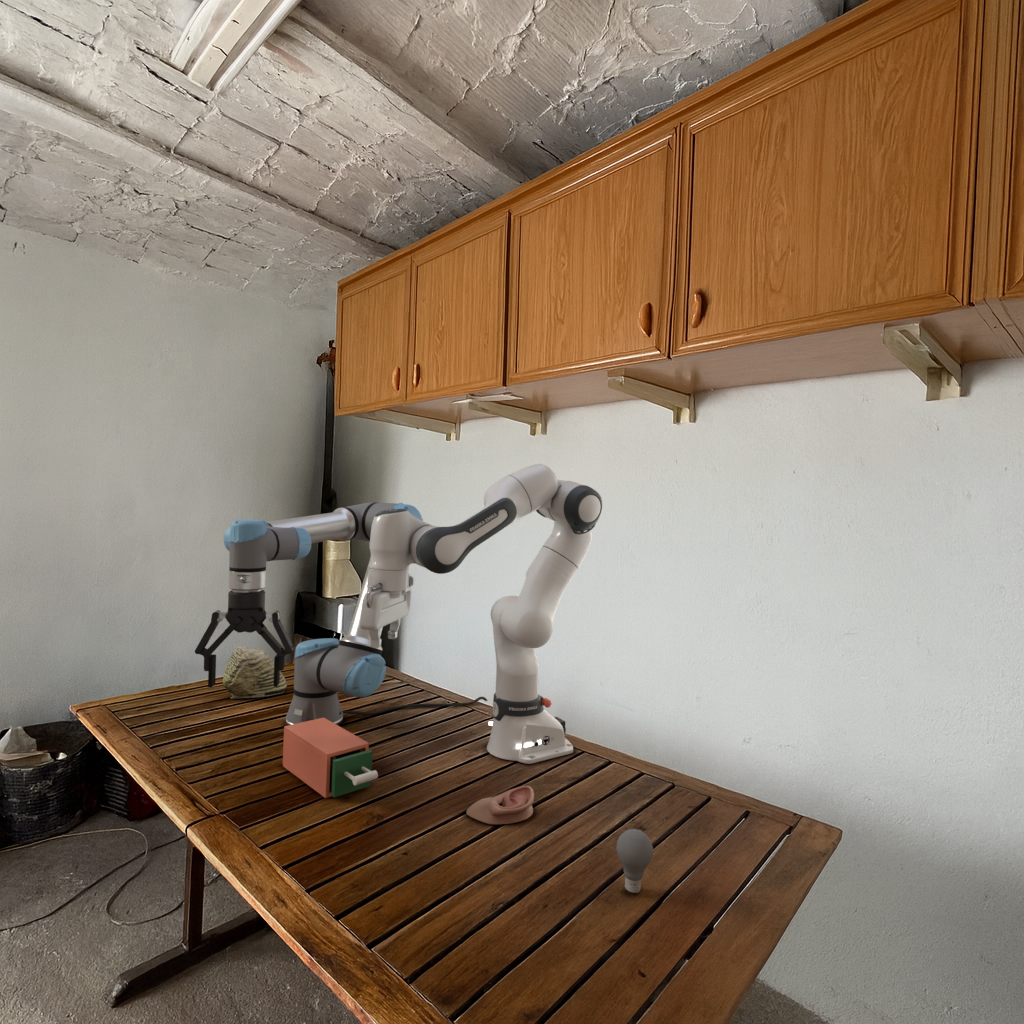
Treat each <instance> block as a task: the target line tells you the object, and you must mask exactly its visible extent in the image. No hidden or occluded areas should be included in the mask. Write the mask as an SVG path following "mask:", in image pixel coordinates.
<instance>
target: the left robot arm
mask: <svg viewBox="0 0 1024 1024" xmlns="http://www.w3.org/2000/svg"><path fill="white" fill-rule="evenodd" d="M390 509H406V510H408V511H409V513H411V514H412V515H413V516H415V517H416V518H418V519H420V520H422V521H423V522H424V519H423V517H422V514H421V512H420V510H418V508H417V507H416V506H414V505H411V504H407V503H403V502H398V503H394V502H375V501H373V502H371V501H370V502H364V503H359V504H354V505H349V506H344V507H338V508H336V509H334V510H333V511H332V512H327V513H319V514H313V515H306V516H299V517H291V518H285V519H277V520H271V521H266V520H263V519H236V520H233V521H232V522H231V524H230V526H229V527H228V528H227V529H226V531H225V532H224V535H223V544H224V547H225V549H226V550H227V551H228V553H229V555H228V557H229V562H228V563H229V567H228V568H229V569H228V588H229V589H230V590H229V591H228V593H227V594H228V595H227V599H228V600H227V602H228V603H227V611H226V612H225V611H221V610H219V609H218V610H215V611H214V612H212V613H211V618H210V623H209V625H208V626H207V628H206V629H205V632H204V633H203V635H202V637H201V638H200V641H199V642H198V643H197V645H196V648H195V649H194V654H195V655H200V656H203V671H204V672H207V673H208V675H207V676H208V677H207V688H213V687H214V686H215V685H216V678H217V677H216V674H217V673H216V672H217V654H214V652H215V651H216V650H217V649H218V648H219V647H220V646H221V645H222V643H224V641H225V640H226V639H227V638H228V637H229V636H230V635H231V634H232V633H233V632H234V631H235V632H237V633H240V634H241V633H244V632H245V633H248V634H249V633H250V634H251V633H254V632H256V633H257V634H258V635H259V636H261V638H262V639H263V640H264V641H265V642H266V644H268V645H269V647H270V648H271V649H272V651H274V653H275V654H276V655H275V656H274V658H273V659H274V660H273V661H274V687H277V686H278V684H279V683H280V672H281V671H282V672H283V671H284V669H285V667H286V656H287V655H291V654H292V653H293V652H294V650H295V652H294V653H295V654H294V657H293V659H294V660H293V662H294V663H293V665H294V667H293V695H292V696H293V697H292V699H291V702H290V704H289V708H288V711H287V713H286V715H285V726H288V725H293V724H297V723H301V722H306V721H310V720H315V719H319V718H326V719H327V720H329V721H331V722H333V723H334V724H336V725H338V726H340V725H342V723H343V722H344V715H345V714H346V715H347V714H348V715H362V716H373V715H378V714H382V713H386V712H389V711H392V710H393V711H394V710H398V709H399V710H400V709H406V708H418V707H461V706H462V707H464V706H471V705H474V704H476V703H477V702H479V701H480V700H483V701H484V702H488V700H489V699H487V698H486V697H485V696H478V697H477V698H475V699H474V700H472V701H467V702H457V703H456V702H454V703H449V702H447V703H411V704H410V703H409V704H403V705H396V706H395V705H394V706H389V707H387V708H383V709H379V710H376V711H375V710H374V711H358V710H343V709H342V706H341V702H340V699H339V695H338V694H342V695H345V696H347V697H353V698H360V699H361V698H367V697H370V696H372V695H373V694H374V693H375V692H376V691H377V690H378V689H379V688H380V687H381V685H382V683H383V682H384V679H385V677H386V673H387V665H386V660H385V659H384V657H382V653H383V647H382V645H381V646H380V647H379V648H372V647H371V638H370V635H369V630H366V629H362V628H361V626H360V616H361V607H362V601H363V597H364V595H365V594H366V593H367V592H368V591H369V589H368V588H367V585H368V566H369V563H370V559H371V556H370V557H369V560H368V564H367V568H366V570H365V574H364V578H363V581H362V584H361V587H360V591H359V595H358V598H357V601H356V604H355V609H354V612H353V616H352V619H351V622H350V625H349V629H348V632H347V634H346V635H345V636H344V637H342V638H340V640H339V639H338V638H335V637H333V638H332V637H329V638H313V639H308V640H304V641H302V642H299V643H298V644H297V645H296V647H294V645H293V643H292V641H291V639H290V636H289V635H288V633H287V630H286V629H285V626H284V624H283V622H282V621H281V620H282V619H281V613H280V611H279V610H275V611H273V612H266V591H265V590H264V589H266V587H267V585H266V581H267V580H266V579H267V578H266V577H267V562H273V561H290V560H292V561H295V560H299V559H303V558H305V557H307V556H308V555H309V553H310V551H311V549H312V544H316V543H321V542H327V541H333V540H339V541H341V542H347V541H364V542H368V546H369V547H370V535H371V528H372V523H373V519H374V517H375V515H376V514H377V513H379V512H381V511H384V510H390ZM224 619H225V620H226V622H228V624H229V625H228V626H227V628H226V629H225V630H224V631H223V632H222V633H221V634H220V635H219V636H218V637H217V638H216V639H215V640H214V642H212V643H211V645H210V646H209V647H208V648H207V645H208V643H209V642H210V640H211V639H212V637H213V634H214V633H215V631H216V629H217V628H218V626H219V624H220V622H222V621H223V620H224ZM266 619H268V621H269V622H270V623H272V625H273V627H274V630H275V632H276V634H277V636H278V637H279V640H280V642H281V643H282V644H281V643H280V642H279V641H278V640H277V639H276V637H275V636H274V635H273V634H272V632H270V630H269V629H268V628H267V627H268V626H266V625H265V624H264V622H265V621H266ZM383 628H384V626H383V627H381V632H379V634H380V637H381V636H382V631H383ZM473 701H474V702H473Z"/></svg>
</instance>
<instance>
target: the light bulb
mask: <svg viewBox="0 0 1024 1024" xmlns="http://www.w3.org/2000/svg"><path fill="white" fill-rule="evenodd" d="M615 849H616V854H617V857H618V859H619V861H620V863H621V865H622V867H623V873H624V874H623V875H624V876H625V878H624V888H625V890H627V891H628V892H630V893H634V894H635V893H639V892H640V891H641V889H642V887H641V886H642V879H643V877H644V875H645V871H646V868H647V867H648V866H649V864H650V863H651V861H652V859H653V855H654V847H653V843H652V841H651V838H649V836H648V835H647V834H646V833H645V832H643V831H642V830H641V829H636V828H629V829H627V830H625V831H623V832H622V833H621V834H620V835H619V837H618V839H617V841H616V847H615Z"/></svg>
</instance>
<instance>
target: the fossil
mask: <svg viewBox="0 0 1024 1024" xmlns="http://www.w3.org/2000/svg"><path fill="white" fill-rule="evenodd" d="M222 676H223V677H222V685H223V687H224V688H225V690H226V691H228V693H229V698H230V699H250V698H264V697H271V696H275V695H281V694H284V693H285V691H286V689H287V687H288V686H287V680H286V678H285V676H284V674H283V673H282V672H281V671H280V683H279V684H278V686H277V687H274V660H273V659H272V658H271V657H270V656H269V655H268V654H267V653H266V652H265V650H264V649H263V648H260V647H258V648H251V647H247V646H246V647H245V646H238V647H237V648H236V649H235V650H233V651H232V653H231V656H230V657H229V659H228V660H227V663H226V666H225V668H224V671H223V675H222Z"/></svg>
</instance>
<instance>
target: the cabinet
mask: <svg viewBox="0 0 1024 1024" xmlns="http://www.w3.org/2000/svg"><path fill="white" fill-rule="evenodd" d="M282 744H283V746H282V767H283V768H285V769H286V770H287V771H288V772H290V773H291V774H292V775H294V776H295V777H296V778H298V779H299V780H300V781H302V782H303V783H304V784H306V785H307V786H309V787H310V788H311V789H313V790H314V791H315V792H317V793H318V794H319V795H321V796H322V797H323V798H324V799H327V798H331V797H333V796H332V790H330V789H329V786H330V761H331V757H333V756H337V755H340V754H344V753H348V752H351V751H355V750H358V749H363V751H367V750H370V749H369V748H370V743H369V742H368V741H366V740H364V739H363V738H360V736H357V735H355V734H353V733H352V732H350V731H348V730H347V729H345V728H344V727H341V726H340V725H339V726H338V725H336V724H334V723H333V722H331V721H329V720H327V719H326V718H319V719H315V720H310V721H306V722H301V723H297V724H293V725H288V726H286V725H285V726H283V743H282Z"/></svg>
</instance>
